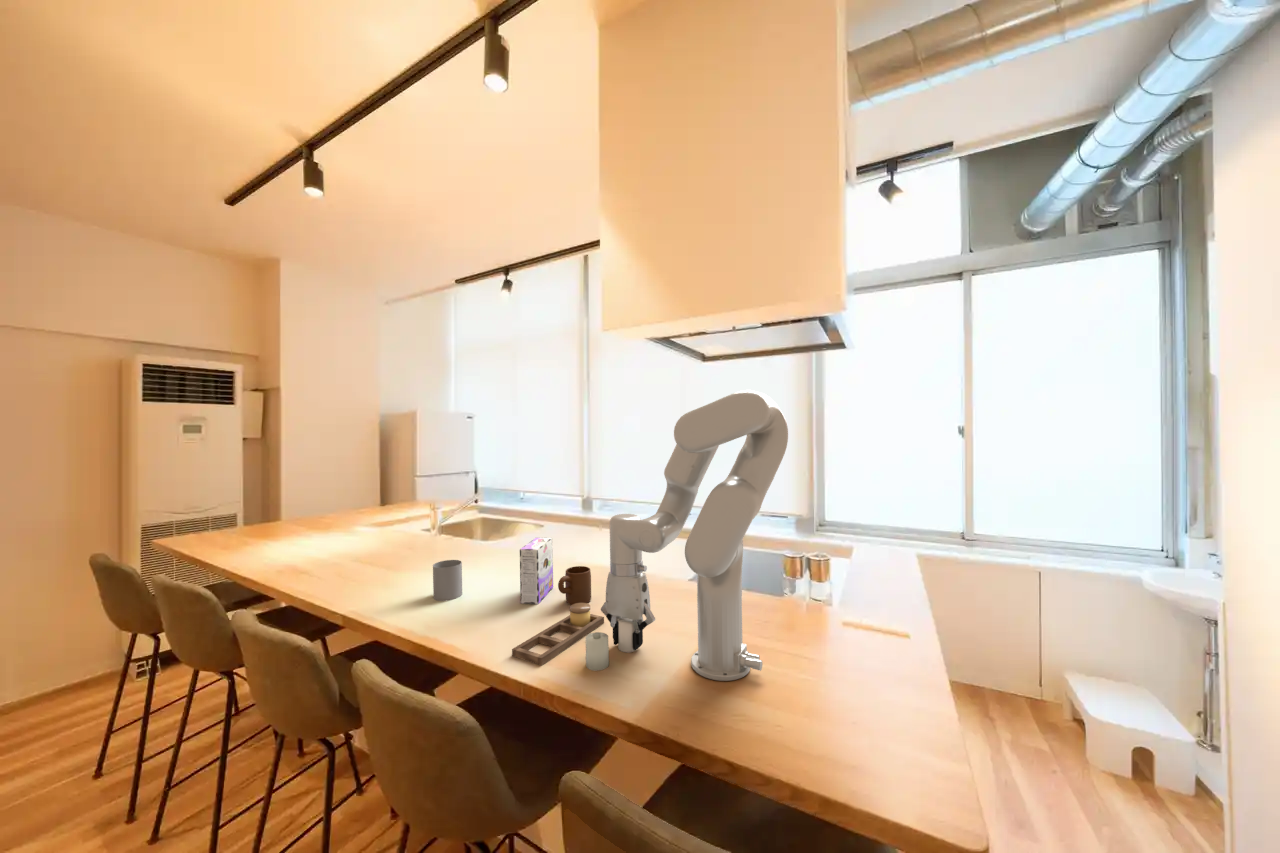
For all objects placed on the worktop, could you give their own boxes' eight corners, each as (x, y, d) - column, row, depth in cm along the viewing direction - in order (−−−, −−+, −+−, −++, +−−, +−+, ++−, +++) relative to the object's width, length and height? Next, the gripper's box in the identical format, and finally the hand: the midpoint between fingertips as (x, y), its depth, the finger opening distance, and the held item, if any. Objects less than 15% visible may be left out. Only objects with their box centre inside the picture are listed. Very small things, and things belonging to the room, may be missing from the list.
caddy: (604, 622, 123) (604, 616, 123) (541, 665, 102) (541, 658, 102) (577, 616, 128) (577, 610, 128) (512, 655, 107) (512, 649, 107)
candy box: (536, 587, 151) (535, 536, 151) (553, 587, 150) (552, 537, 150) (519, 603, 137) (518, 548, 137) (538, 604, 137) (537, 548, 136)
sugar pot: (613, 662, 103) (612, 631, 103) (600, 672, 99) (599, 641, 99) (594, 656, 106) (594, 626, 106) (581, 667, 101) (580, 636, 101)
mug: (569, 613, 130) (568, 580, 130) (549, 608, 134) (549, 575, 134) (596, 599, 140) (596, 568, 140) (577, 594, 144) (576, 564, 144)
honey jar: (594, 624, 123) (594, 604, 123) (582, 632, 118) (582, 612, 118) (578, 620, 125) (578, 601, 125) (565, 628, 121) (565, 608, 121)
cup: (455, 600, 141) (454, 567, 141) (428, 601, 141) (427, 568, 141) (466, 590, 149) (465, 559, 149) (440, 591, 149) (440, 559, 149)
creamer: (640, 646, 110) (640, 619, 110) (630, 654, 107) (631, 626, 106) (620, 640, 113) (620, 613, 113) (610, 647, 109) (610, 620, 109)
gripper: (665, 568, 108) (667, 646, 109) (605, 558, 117) (606, 631, 117) (650, 578, 102) (651, 660, 102) (587, 567, 110) (589, 643, 110)
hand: (627, 644), depth 109 cm, fingers closed on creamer, 4 cm apart
